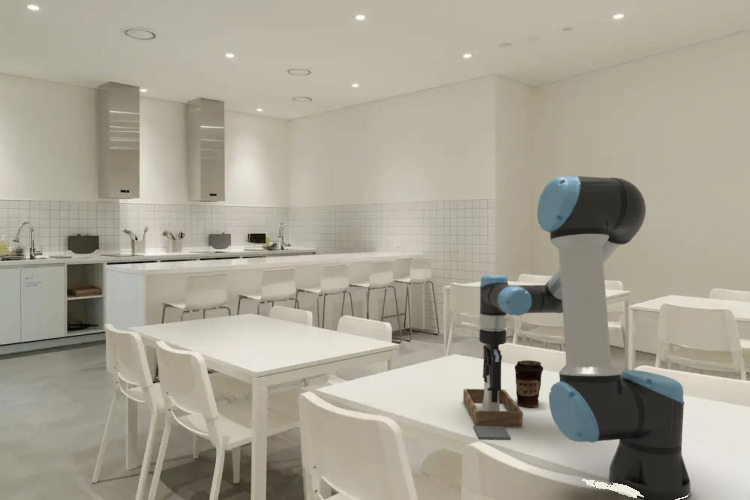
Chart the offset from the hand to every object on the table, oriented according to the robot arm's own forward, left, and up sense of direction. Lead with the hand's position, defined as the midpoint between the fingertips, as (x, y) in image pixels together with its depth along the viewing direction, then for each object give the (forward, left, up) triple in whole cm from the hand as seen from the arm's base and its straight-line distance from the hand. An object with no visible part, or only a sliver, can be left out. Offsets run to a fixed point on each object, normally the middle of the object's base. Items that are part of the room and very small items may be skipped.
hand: (490, 408), depth 161 cm
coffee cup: (+9, -13, -2) cm, 16 cm away
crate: (0, 0, -1) cm, 1 cm away
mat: (-16, +3, -1) cm, 16 cm away
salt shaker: (0, 0, -2) cm, 2 cm away
